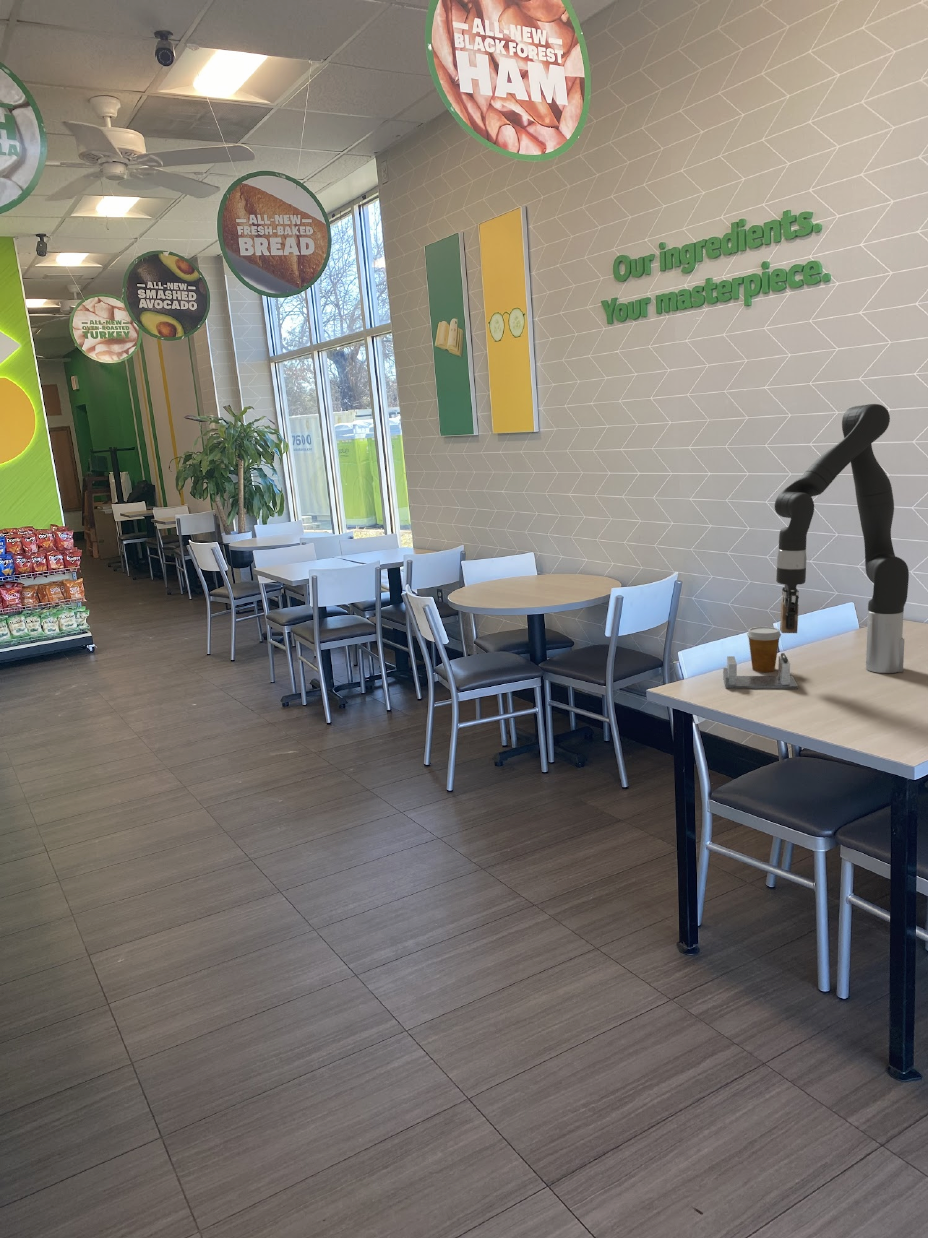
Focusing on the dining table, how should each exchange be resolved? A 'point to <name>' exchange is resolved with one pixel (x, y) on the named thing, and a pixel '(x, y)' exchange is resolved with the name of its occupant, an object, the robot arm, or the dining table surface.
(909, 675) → the dining table surface
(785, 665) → the block
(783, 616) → the walnut block
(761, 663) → the disposable coffee cup
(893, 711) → the dining table surface
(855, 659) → the dining table surface
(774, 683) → the vise bed
